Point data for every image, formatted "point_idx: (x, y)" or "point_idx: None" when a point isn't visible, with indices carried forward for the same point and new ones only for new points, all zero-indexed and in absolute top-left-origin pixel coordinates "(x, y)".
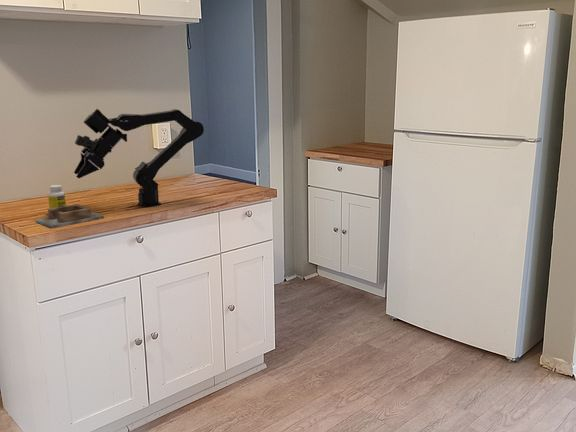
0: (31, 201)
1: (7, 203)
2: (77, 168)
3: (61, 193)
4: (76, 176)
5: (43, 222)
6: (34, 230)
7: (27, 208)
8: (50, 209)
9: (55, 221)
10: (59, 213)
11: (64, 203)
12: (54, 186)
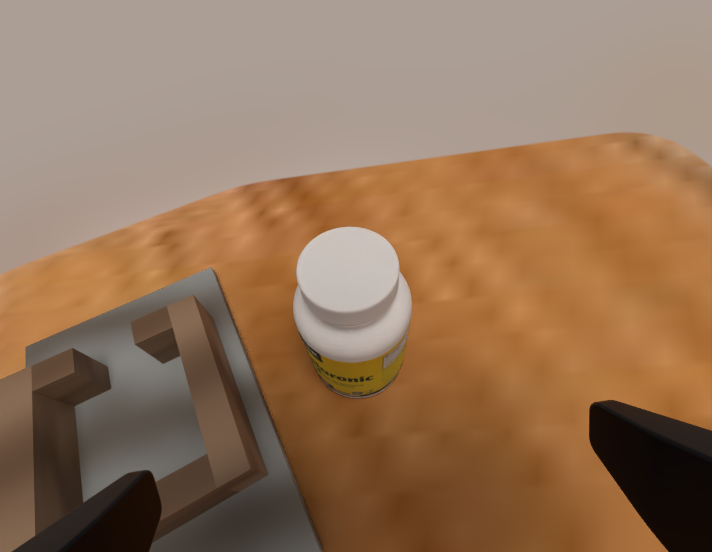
0: (670, 208)
1: (615, 140)
2: (683, 465)
3: (310, 334)
4: (144, 470)
5: (125, 306)
6: (58, 288)
7: (506, 213)
8: (170, 310)
9: (106, 358)
10: (26, 368)
11: (330, 376)
12: (321, 258)
